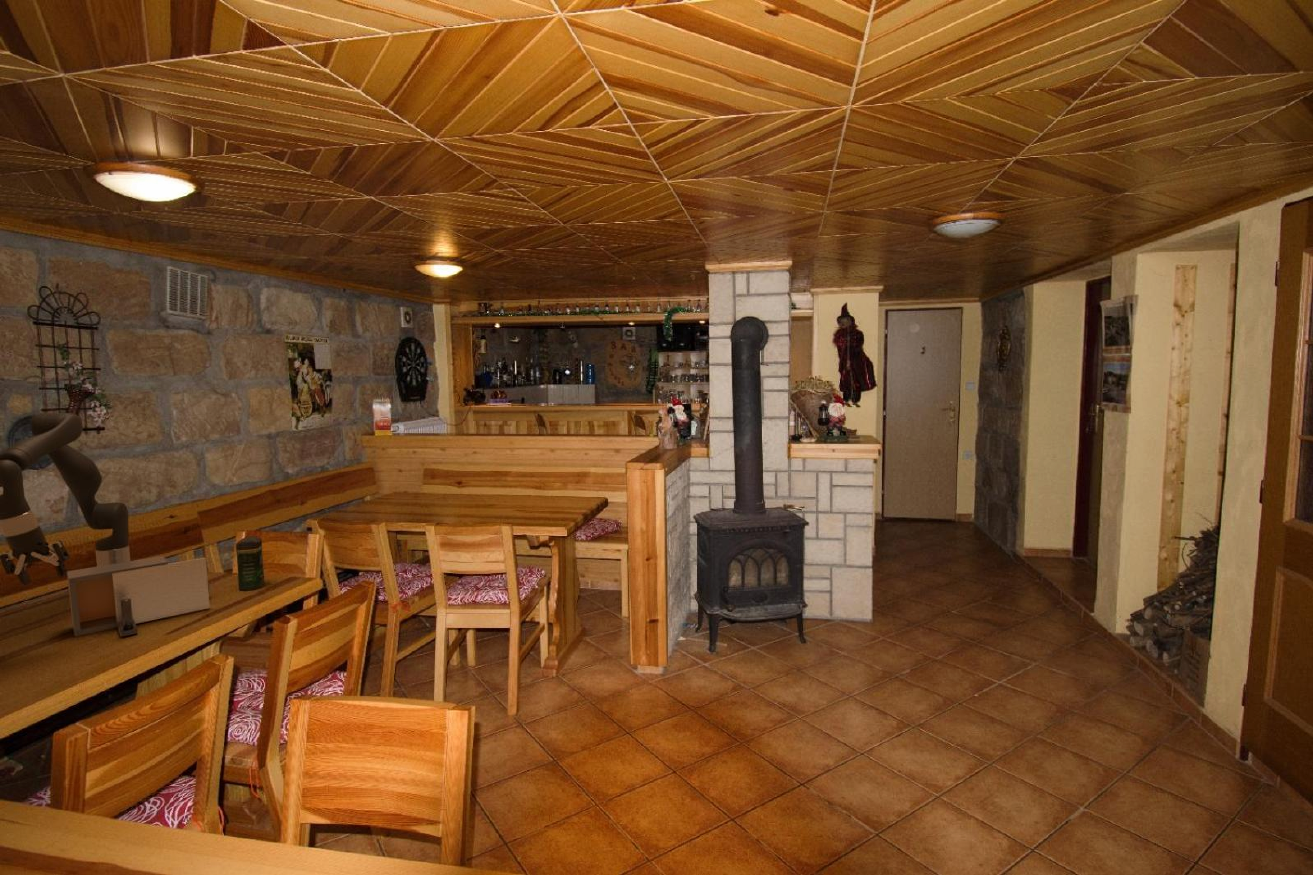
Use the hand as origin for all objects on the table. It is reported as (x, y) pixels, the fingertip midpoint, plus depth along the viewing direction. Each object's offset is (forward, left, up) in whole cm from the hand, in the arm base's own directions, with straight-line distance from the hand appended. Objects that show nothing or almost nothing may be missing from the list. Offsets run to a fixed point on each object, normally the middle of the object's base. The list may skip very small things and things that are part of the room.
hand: (45, 580), depth 188 cm
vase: (-18, +38, -20) cm, 47 cm away
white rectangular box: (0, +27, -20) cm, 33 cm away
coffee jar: (-21, +55, -20) cm, 62 cm away
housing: (-11, +17, -20) cm, 29 cm away
